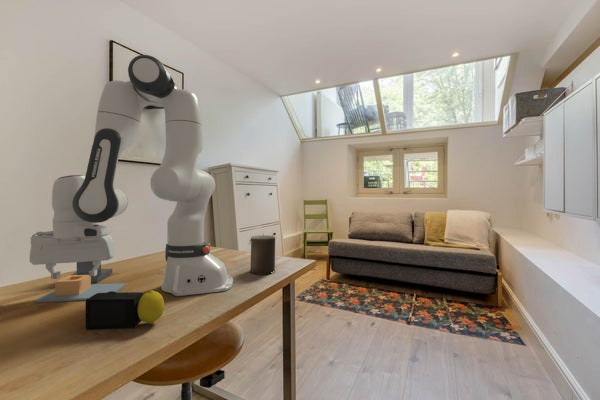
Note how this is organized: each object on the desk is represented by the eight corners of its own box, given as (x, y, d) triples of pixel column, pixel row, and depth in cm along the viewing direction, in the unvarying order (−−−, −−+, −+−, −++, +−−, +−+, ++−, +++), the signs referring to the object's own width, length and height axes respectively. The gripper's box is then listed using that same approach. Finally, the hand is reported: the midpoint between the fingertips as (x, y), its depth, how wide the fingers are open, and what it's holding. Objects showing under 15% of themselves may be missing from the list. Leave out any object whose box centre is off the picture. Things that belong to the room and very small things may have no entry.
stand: (112, 274, 101) (112, 235, 100) (97, 283, 91) (97, 239, 90) (81, 275, 99) (81, 235, 98) (63, 284, 89) (63, 240, 89)
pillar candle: (273, 275, 104) (274, 235, 103) (247, 274, 104) (248, 235, 104) (275, 268, 113) (276, 232, 113) (252, 267, 114) (253, 231, 113)
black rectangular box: (145, 317, 67) (145, 289, 67) (134, 328, 62) (134, 298, 62) (100, 318, 66) (100, 290, 66) (85, 330, 61) (85, 299, 61)
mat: (126, 284, 90) (126, 283, 90) (107, 299, 78) (107, 297, 78) (64, 287, 86) (64, 285, 86) (34, 302, 75) (34, 300, 75)
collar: (90, 287, 85) (90, 274, 85) (78, 294, 79) (78, 281, 79) (68, 288, 84) (68, 275, 84) (55, 295, 78) (55, 281, 78)
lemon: (152, 331, 61) (153, 295, 61) (131, 328, 62) (131, 293, 62) (169, 319, 66) (169, 287, 66) (149, 317, 68) (149, 285, 67)
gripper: (22, 233, 75) (24, 283, 75) (107, 230, 80) (108, 277, 80) (38, 230, 81) (40, 276, 81) (116, 227, 86) (117, 271, 86)
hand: (74, 277), depth 81 cm, fingers open, 8 cm apart
